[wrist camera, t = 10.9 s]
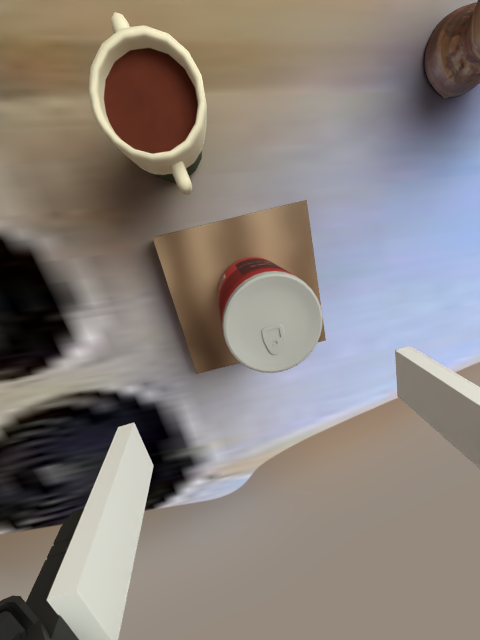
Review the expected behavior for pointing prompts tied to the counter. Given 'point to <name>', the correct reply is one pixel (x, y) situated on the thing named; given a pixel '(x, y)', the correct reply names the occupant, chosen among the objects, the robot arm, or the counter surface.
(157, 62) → the character mug
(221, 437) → the counter surface
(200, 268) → the walnut base
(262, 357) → the canned food
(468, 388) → the robot arm
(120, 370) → the counter surface
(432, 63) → the mortar and pestle
